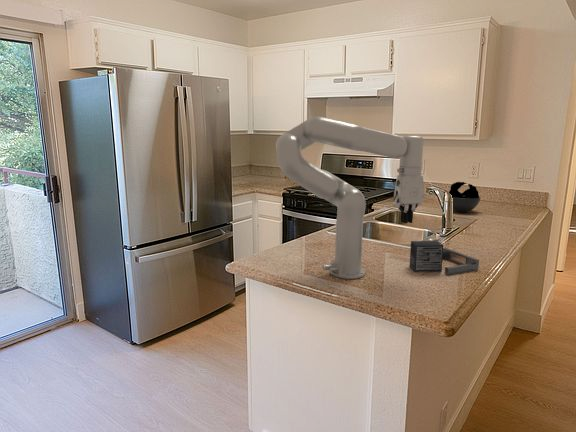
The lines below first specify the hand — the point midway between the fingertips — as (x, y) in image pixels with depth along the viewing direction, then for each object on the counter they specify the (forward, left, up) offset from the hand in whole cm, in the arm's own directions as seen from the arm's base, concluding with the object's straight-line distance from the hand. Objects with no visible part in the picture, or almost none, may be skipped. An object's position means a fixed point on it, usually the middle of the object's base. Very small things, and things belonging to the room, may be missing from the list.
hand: (406, 222), depth 153 cm
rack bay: (+21, 0, -19) cm, 28 cm away
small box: (+11, 0, -19) cm, 22 cm away
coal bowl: (+108, +77, -19) cm, 134 cm away
